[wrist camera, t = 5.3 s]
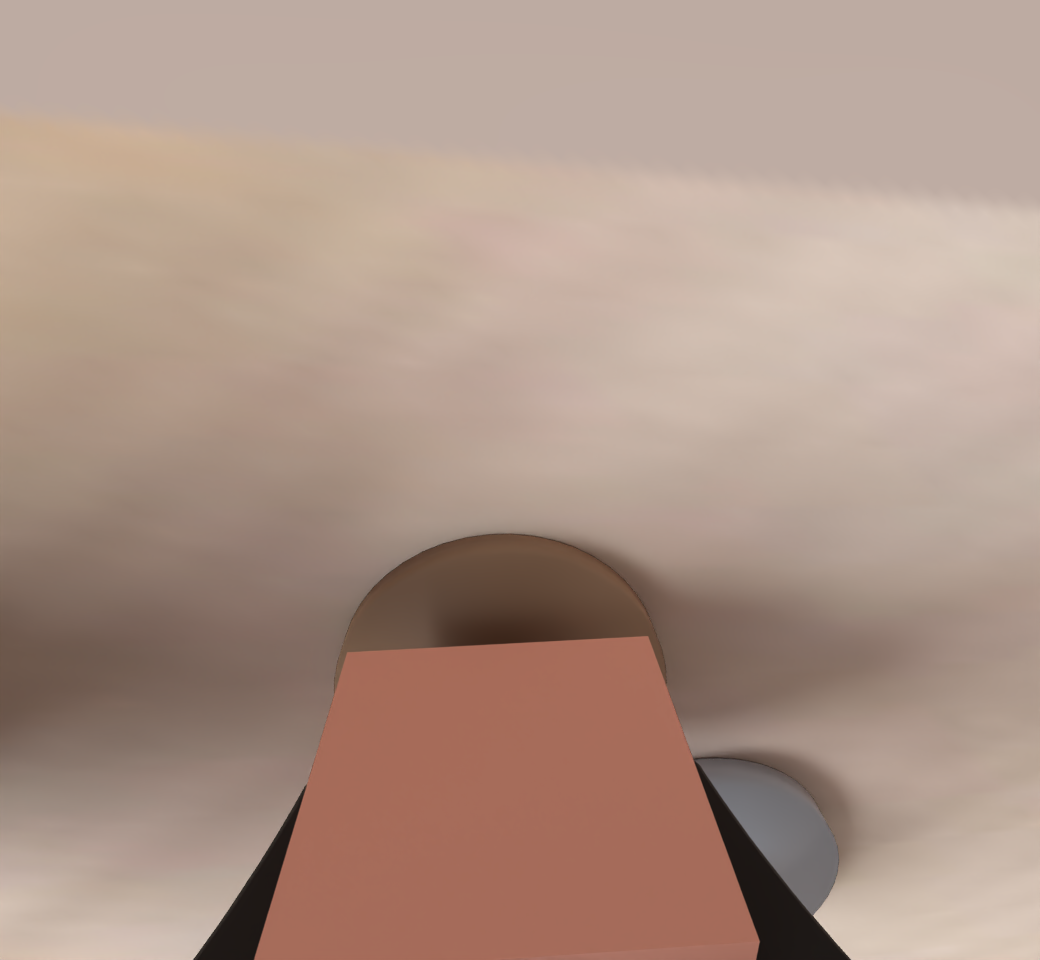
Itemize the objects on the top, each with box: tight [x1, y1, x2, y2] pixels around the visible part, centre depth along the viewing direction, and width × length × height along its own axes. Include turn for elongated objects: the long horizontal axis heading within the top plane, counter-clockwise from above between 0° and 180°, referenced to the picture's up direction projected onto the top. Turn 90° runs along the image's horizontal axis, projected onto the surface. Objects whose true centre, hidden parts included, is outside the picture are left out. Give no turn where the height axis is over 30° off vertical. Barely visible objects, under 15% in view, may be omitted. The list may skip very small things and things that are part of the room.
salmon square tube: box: [254, 636, 760, 960], centre depth 10 cm, size 5×5×5 cm
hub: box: [334, 534, 666, 694], centre depth 12 cm, size 7×7×5 cm
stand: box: [695, 758, 839, 916], centre depth 15 cm, size 7×7×5 cm
